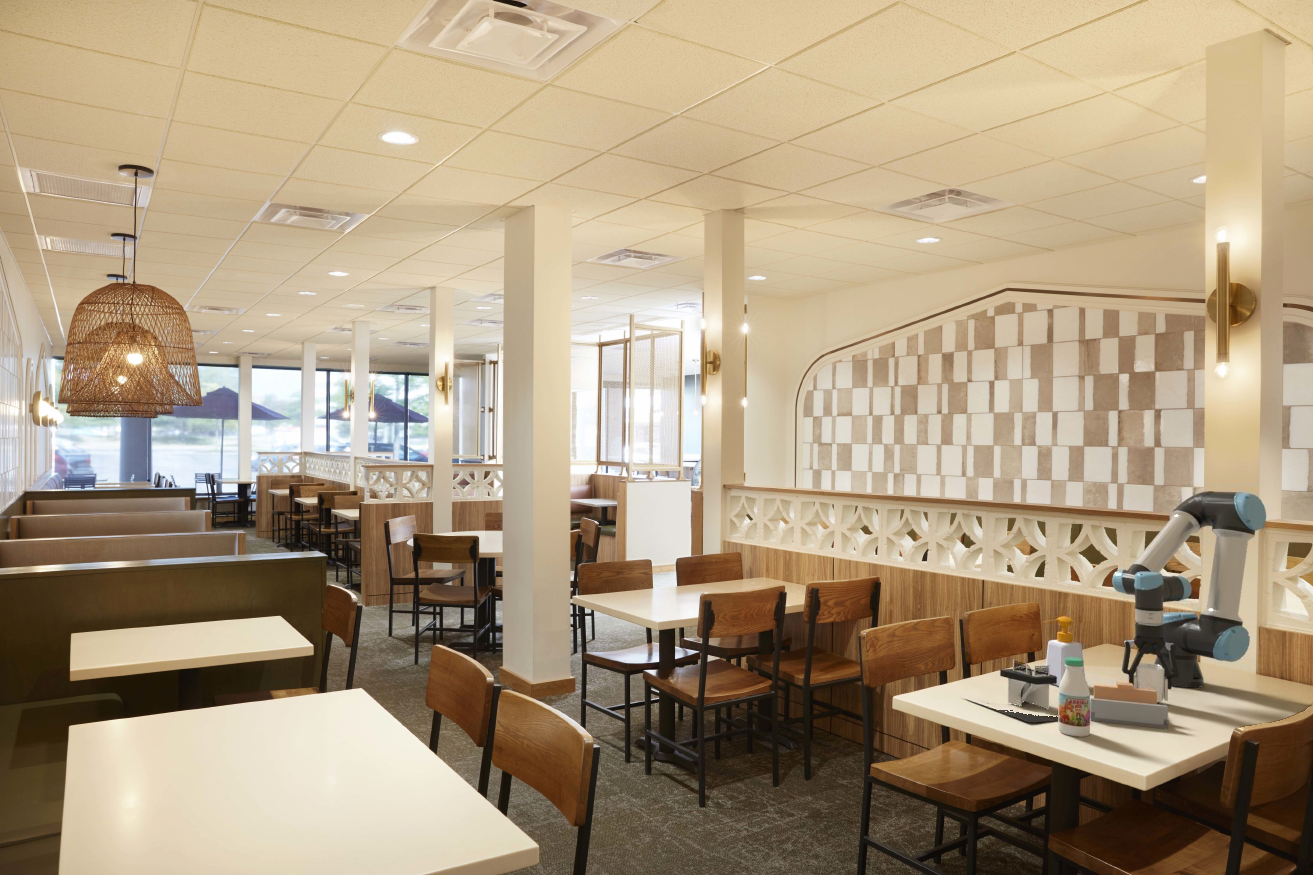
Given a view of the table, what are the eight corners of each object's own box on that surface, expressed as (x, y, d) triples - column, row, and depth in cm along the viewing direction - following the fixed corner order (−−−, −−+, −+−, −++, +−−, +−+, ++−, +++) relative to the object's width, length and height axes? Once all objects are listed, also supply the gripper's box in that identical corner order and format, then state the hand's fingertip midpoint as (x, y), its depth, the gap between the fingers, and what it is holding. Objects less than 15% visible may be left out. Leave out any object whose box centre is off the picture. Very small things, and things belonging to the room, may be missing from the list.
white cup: (1157, 695, 269) (1157, 663, 269) (1170, 703, 261) (1169, 669, 261) (1130, 695, 270) (1130, 662, 270) (1142, 702, 262) (1142, 669, 262)
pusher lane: (1155, 710, 258) (1155, 689, 258) (1167, 728, 240) (1167, 706, 240) (1084, 702, 264) (1084, 682, 265) (1091, 720, 247) (1091, 699, 247)
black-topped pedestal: (960, 698, 268) (961, 654, 269) (1026, 694, 278) (1027, 651, 278) (1030, 722, 242) (1031, 674, 243) (1100, 717, 252) (1101, 670, 252)
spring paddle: (1155, 714, 249) (1155, 685, 249) (1157, 716, 246) (1157, 687, 246) (1093, 707, 255) (1093, 679, 255) (1094, 710, 252) (1094, 681, 252)
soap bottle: (1031, 682, 287) (1031, 615, 288) (1065, 679, 292) (1065, 613, 292) (1053, 690, 278) (1053, 620, 279) (1087, 687, 283) (1087, 618, 283)
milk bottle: (1052, 728, 239) (1052, 655, 239) (1079, 727, 240) (1079, 655, 240) (1068, 737, 231) (1068, 662, 232) (1096, 737, 232) (1096, 661, 232)
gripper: (1113, 623, 266) (1114, 698, 266) (1190, 627, 259) (1191, 704, 258) (1110, 618, 273) (1111, 691, 273) (1185, 622, 266) (1186, 697, 265)
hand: (1150, 698), depth 265 cm, fingers closed on white cup, 7 cm apart
